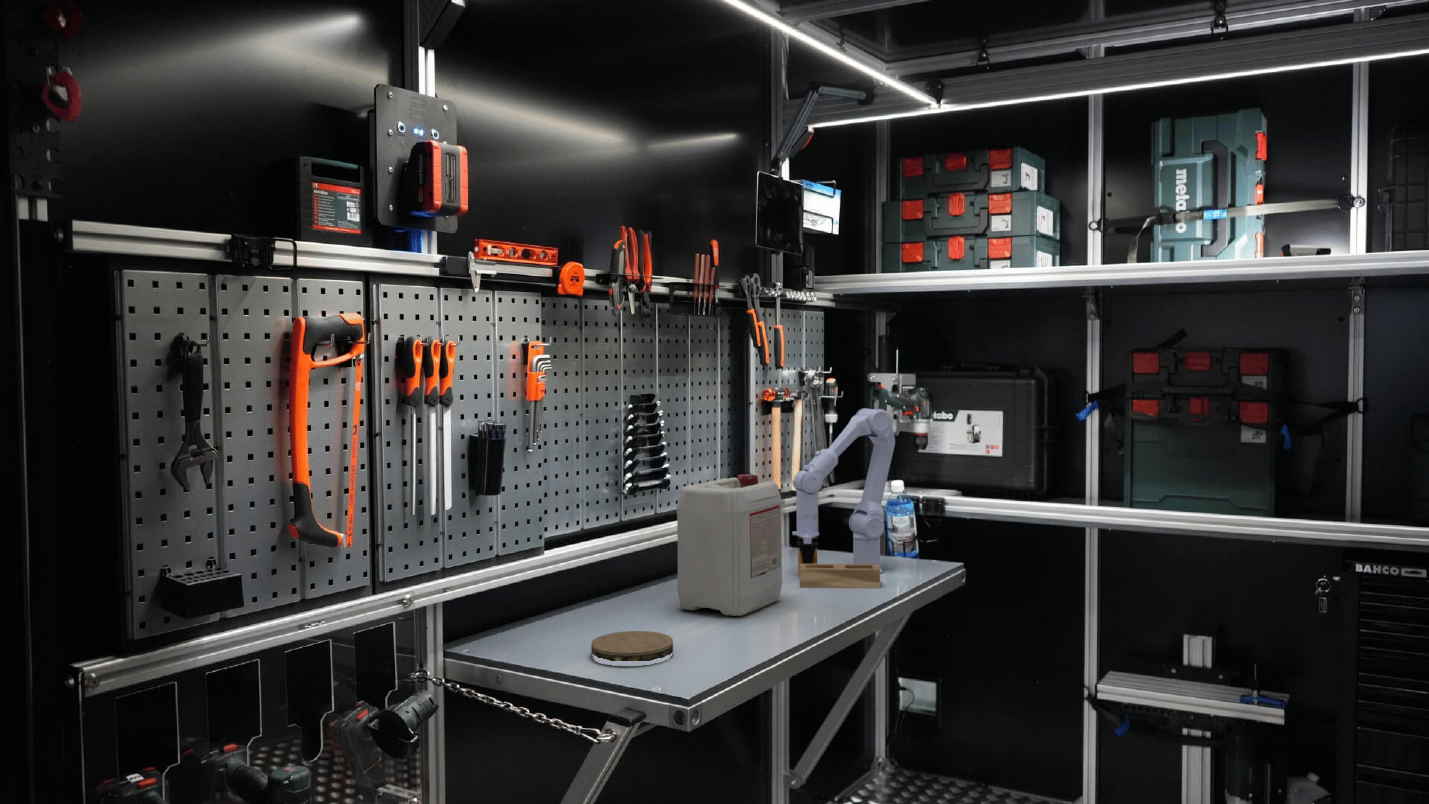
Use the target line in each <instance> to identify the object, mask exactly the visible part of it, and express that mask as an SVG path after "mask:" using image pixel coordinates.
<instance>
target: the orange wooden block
mask: <svg viewBox="0 0 1429 804" xmlns="http://www.w3.org/2000/svg"><path fill="white" fill-rule="evenodd" d="M797 549H798V550H797V551H798V552H797V555H798V559H797V561H798V562H797V563H798V564H797V568H798V575H797V576H798V577H800V564H803V562H802V556H801V552H800V549H799V548H797ZM813 564H818V548H816V550H815V554H814V559H813Z"/></svg>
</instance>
